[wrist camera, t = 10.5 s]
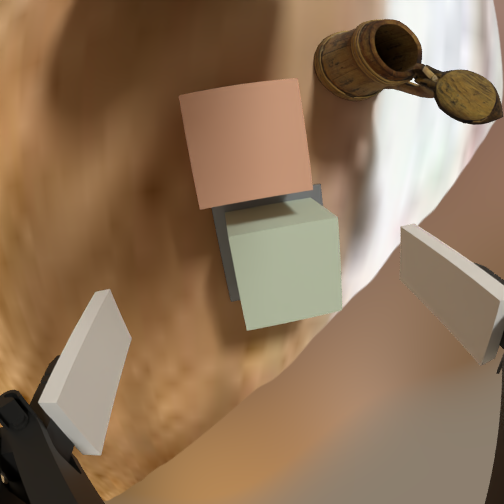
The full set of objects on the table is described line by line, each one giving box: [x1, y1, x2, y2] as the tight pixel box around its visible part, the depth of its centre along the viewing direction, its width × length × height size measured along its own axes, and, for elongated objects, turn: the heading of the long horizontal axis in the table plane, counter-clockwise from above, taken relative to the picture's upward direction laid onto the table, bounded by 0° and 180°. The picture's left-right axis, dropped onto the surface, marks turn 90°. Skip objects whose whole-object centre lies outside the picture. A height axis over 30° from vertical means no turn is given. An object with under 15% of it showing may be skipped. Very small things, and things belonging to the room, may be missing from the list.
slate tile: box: [212, 184, 323, 302], centre depth 39 cm, size 13×13×1 cm
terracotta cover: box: [179, 78, 313, 210], centre depth 31 cm, size 10×10×9 cm
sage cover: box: [225, 198, 342, 331], centre depth 35 cm, size 10×10×9 cm
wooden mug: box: [314, 19, 503, 125], centre depth 25 cm, size 9×14×18 cm, turn 53°
